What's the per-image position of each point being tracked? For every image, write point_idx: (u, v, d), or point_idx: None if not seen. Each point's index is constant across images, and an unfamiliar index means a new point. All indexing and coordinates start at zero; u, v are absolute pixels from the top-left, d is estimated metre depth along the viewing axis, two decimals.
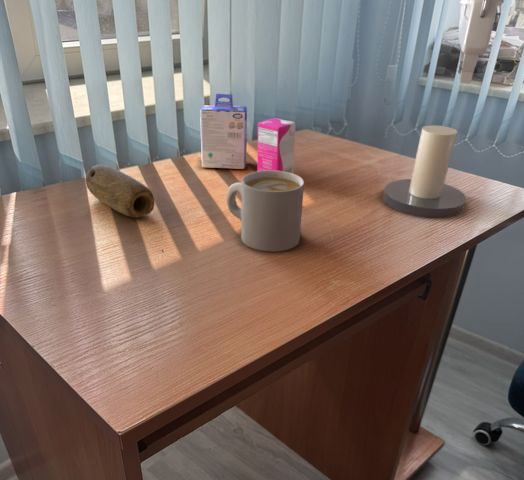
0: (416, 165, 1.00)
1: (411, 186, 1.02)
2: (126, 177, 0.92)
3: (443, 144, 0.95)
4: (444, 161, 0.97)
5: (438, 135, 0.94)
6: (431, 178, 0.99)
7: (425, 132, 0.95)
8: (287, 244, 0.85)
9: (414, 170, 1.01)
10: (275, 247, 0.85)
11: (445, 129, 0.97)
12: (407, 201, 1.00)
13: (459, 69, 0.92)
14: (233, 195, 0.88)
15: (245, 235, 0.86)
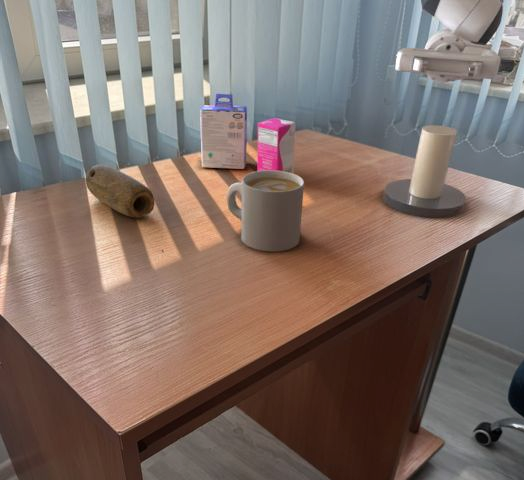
0: (416, 165, 1.00)
1: (411, 186, 1.02)
2: (126, 177, 0.92)
3: (443, 144, 0.95)
4: (444, 161, 0.97)
5: (438, 135, 0.94)
6: (431, 178, 0.99)
7: (425, 132, 0.95)
8: (287, 244, 0.85)
9: (414, 170, 1.01)
10: (275, 247, 0.85)
11: (445, 129, 0.97)
12: (407, 201, 1.00)
13: (468, 74, 1.01)
14: (233, 195, 0.88)
15: (245, 235, 0.86)
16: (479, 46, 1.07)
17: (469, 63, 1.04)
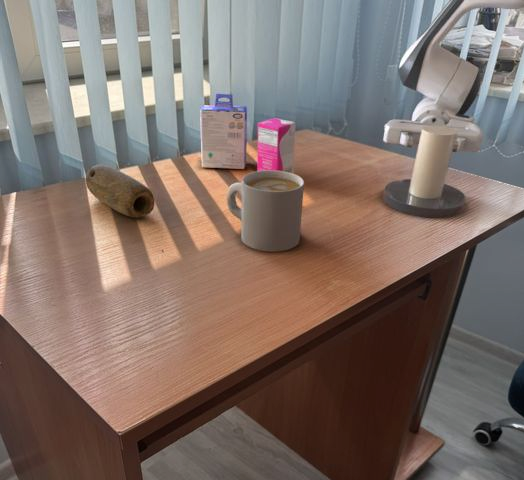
0: (416, 165, 1.00)
1: (411, 186, 1.02)
2: (126, 177, 0.92)
3: (443, 144, 0.95)
4: (444, 161, 0.97)
5: (438, 135, 0.94)
6: (431, 178, 0.99)
7: (425, 132, 0.95)
8: (287, 244, 0.85)
9: (414, 170, 1.01)
10: (275, 247, 0.85)
11: (445, 129, 0.97)
12: (407, 201, 1.00)
13: None
14: (233, 195, 0.88)
15: (245, 235, 0.86)
16: (463, 119, 1.13)
17: None
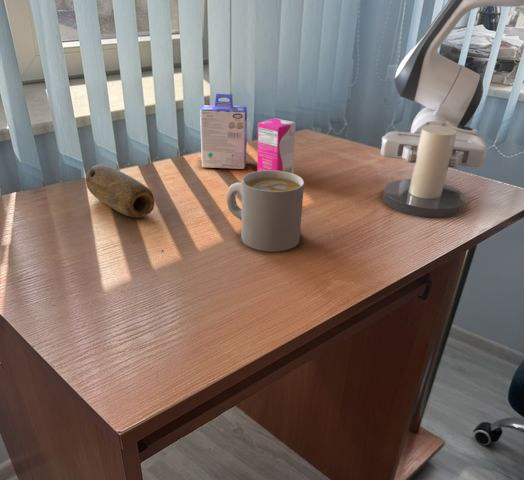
0: (416, 165, 1.00)
1: (411, 186, 1.02)
2: (126, 177, 0.92)
3: (442, 144, 0.95)
4: (444, 161, 0.97)
5: (438, 135, 0.94)
6: (431, 178, 0.99)
7: (425, 132, 0.95)
8: (287, 244, 0.85)
9: (414, 170, 1.01)
10: (275, 247, 0.85)
11: (445, 129, 0.97)
12: (407, 201, 1.00)
13: (449, 165, 0.99)
14: (233, 195, 0.88)
15: (245, 235, 0.86)
16: (466, 131, 1.06)
17: None
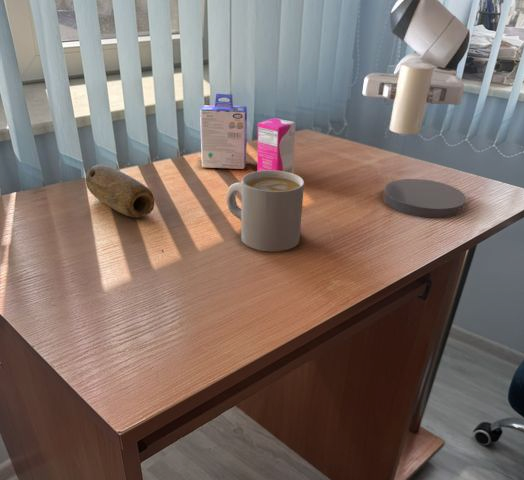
0: (396, 101, 1.03)
1: (391, 123, 1.06)
2: (126, 177, 0.92)
3: (420, 78, 0.99)
4: (422, 96, 1.01)
5: (415, 69, 0.98)
6: (410, 113, 1.03)
7: (403, 67, 0.99)
8: (287, 244, 0.85)
9: (394, 106, 1.04)
10: (275, 247, 0.85)
11: (423, 65, 1.01)
12: (407, 201, 1.00)
13: (427, 101, 1.03)
14: (233, 195, 0.88)
15: (245, 235, 0.86)
16: (445, 72, 1.09)
17: None
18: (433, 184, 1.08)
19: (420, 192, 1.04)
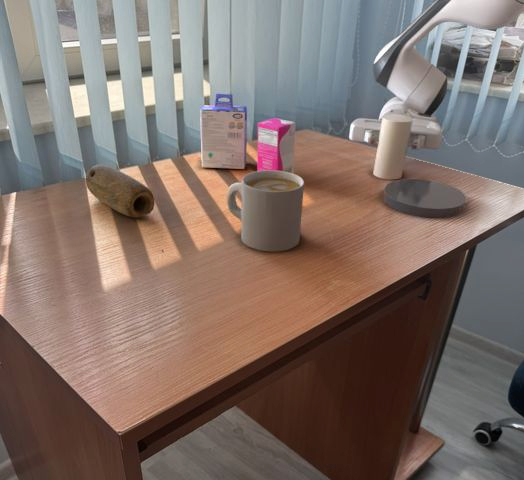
0: (378, 149, 1.13)
1: (374, 168, 1.16)
2: (126, 177, 0.92)
3: (400, 130, 1.08)
4: (402, 146, 1.10)
5: (395, 122, 1.07)
6: (391, 161, 1.12)
7: (384, 120, 1.09)
8: (287, 244, 0.85)
9: (377, 154, 1.14)
10: (275, 247, 0.85)
11: (403, 117, 1.10)
12: (407, 201, 1.00)
13: (412, 147, 1.12)
14: (233, 195, 0.88)
15: (245, 235, 0.86)
16: (425, 118, 1.18)
17: (414, 135, 1.15)
18: (433, 184, 1.08)
19: (420, 192, 1.04)
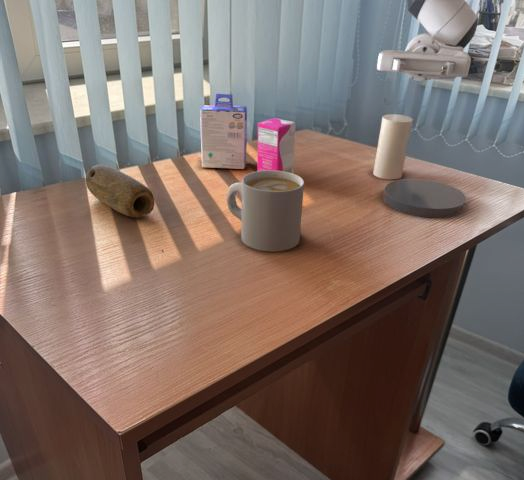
0: (378, 149, 1.13)
1: (374, 168, 1.16)
2: (126, 177, 0.92)
3: (400, 130, 1.08)
4: (402, 146, 1.10)
5: (395, 122, 1.07)
6: (391, 161, 1.12)
7: (384, 120, 1.09)
8: (287, 244, 0.85)
9: (377, 154, 1.14)
10: (275, 247, 0.85)
11: (403, 117, 1.10)
12: (407, 201, 1.00)
13: (441, 73, 1.12)
14: (233, 195, 0.88)
15: (245, 235, 0.86)
16: (452, 48, 1.19)
17: (443, 63, 1.15)
18: (433, 184, 1.08)
19: (420, 192, 1.04)
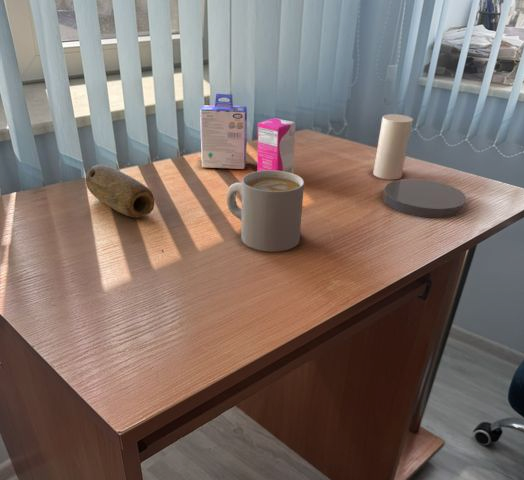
0: (378, 149, 1.13)
1: (374, 168, 1.16)
2: (126, 177, 0.92)
3: (400, 130, 1.08)
4: (402, 146, 1.10)
5: (395, 122, 1.07)
6: (391, 161, 1.12)
7: (384, 120, 1.09)
8: (287, 244, 0.85)
9: (377, 154, 1.14)
10: (275, 247, 0.85)
11: (403, 117, 1.10)
12: (407, 201, 1.00)
13: None
14: (233, 195, 0.88)
15: (245, 235, 0.86)
16: None
17: None
18: (433, 184, 1.08)
19: (420, 192, 1.04)
